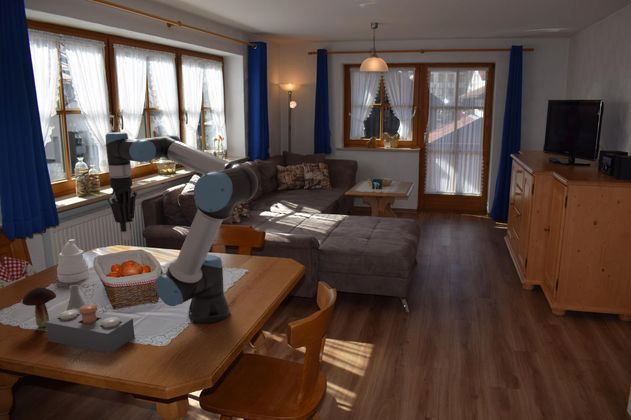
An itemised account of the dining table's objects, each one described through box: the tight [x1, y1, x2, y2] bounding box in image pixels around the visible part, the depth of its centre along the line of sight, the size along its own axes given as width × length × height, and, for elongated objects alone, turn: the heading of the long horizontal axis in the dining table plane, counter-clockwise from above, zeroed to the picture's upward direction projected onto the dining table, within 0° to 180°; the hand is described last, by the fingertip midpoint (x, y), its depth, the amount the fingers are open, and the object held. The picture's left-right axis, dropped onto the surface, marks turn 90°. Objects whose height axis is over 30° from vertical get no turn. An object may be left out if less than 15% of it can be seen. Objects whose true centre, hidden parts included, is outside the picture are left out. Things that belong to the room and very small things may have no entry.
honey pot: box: [56, 238, 90, 284], centre depth 235 cm, size 13×13×18 cm
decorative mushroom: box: [21, 286, 57, 328], centre depth 187 cm, size 11×11×15 cm
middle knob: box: [79, 303, 98, 325], centre depth 177 cm, size 6×6×8 cm
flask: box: [66, 284, 87, 311], centre depth 201 cm, size 7×7×10 cm
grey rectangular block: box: [46, 308, 135, 354], centre depth 178 cm, size 26×12×7 cm, turn 70°
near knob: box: [102, 317, 120, 329], centre depth 175 cm, size 6×6×8 cm
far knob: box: [59, 309, 78, 321], centre depth 181 cm, size 6×6×8 cm
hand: (126, 239), depth 192 cm, fingers closed
